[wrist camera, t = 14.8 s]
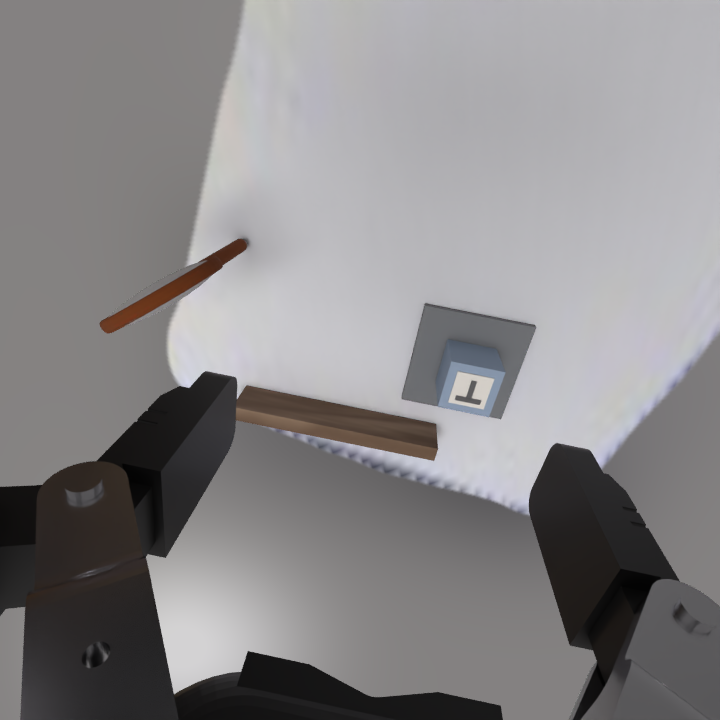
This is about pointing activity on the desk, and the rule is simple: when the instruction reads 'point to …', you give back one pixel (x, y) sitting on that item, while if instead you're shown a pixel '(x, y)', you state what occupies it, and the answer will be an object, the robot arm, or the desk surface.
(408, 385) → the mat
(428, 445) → the bar
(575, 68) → the desk surface
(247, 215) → the desk surface
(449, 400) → the letter cube
